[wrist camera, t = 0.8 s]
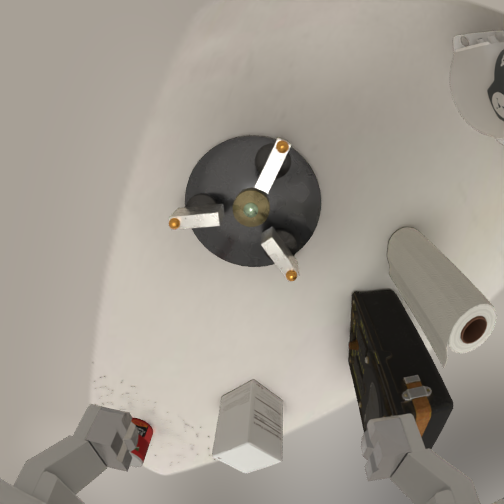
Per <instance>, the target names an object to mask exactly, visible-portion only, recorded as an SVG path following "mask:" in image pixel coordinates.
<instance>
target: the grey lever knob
mask: <svg viewBox="0 0 504 504" xmlns="http://www.w3.org/2000/svg"><path fill="white" fill-rule="evenodd" d="M224 216H225V214H224V206H223V204H218V202H217V200H216V199H215V198H214V197H213V196H211V195H209V194H206V193H199V194H196V195H194V196H193V197H192V198H191V199H190V200H189V201H188V202H187V204H186V206H185V207H184V208H178V209H177V210H176V211H175V212H174V213H173V214H172V215H171V216H170V217H169V220H170V221H169V226H170V228H171V230H176V229H188V228H205V227H212V226H220V224H221V222H222V220H223V218H224Z"/></svg>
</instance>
